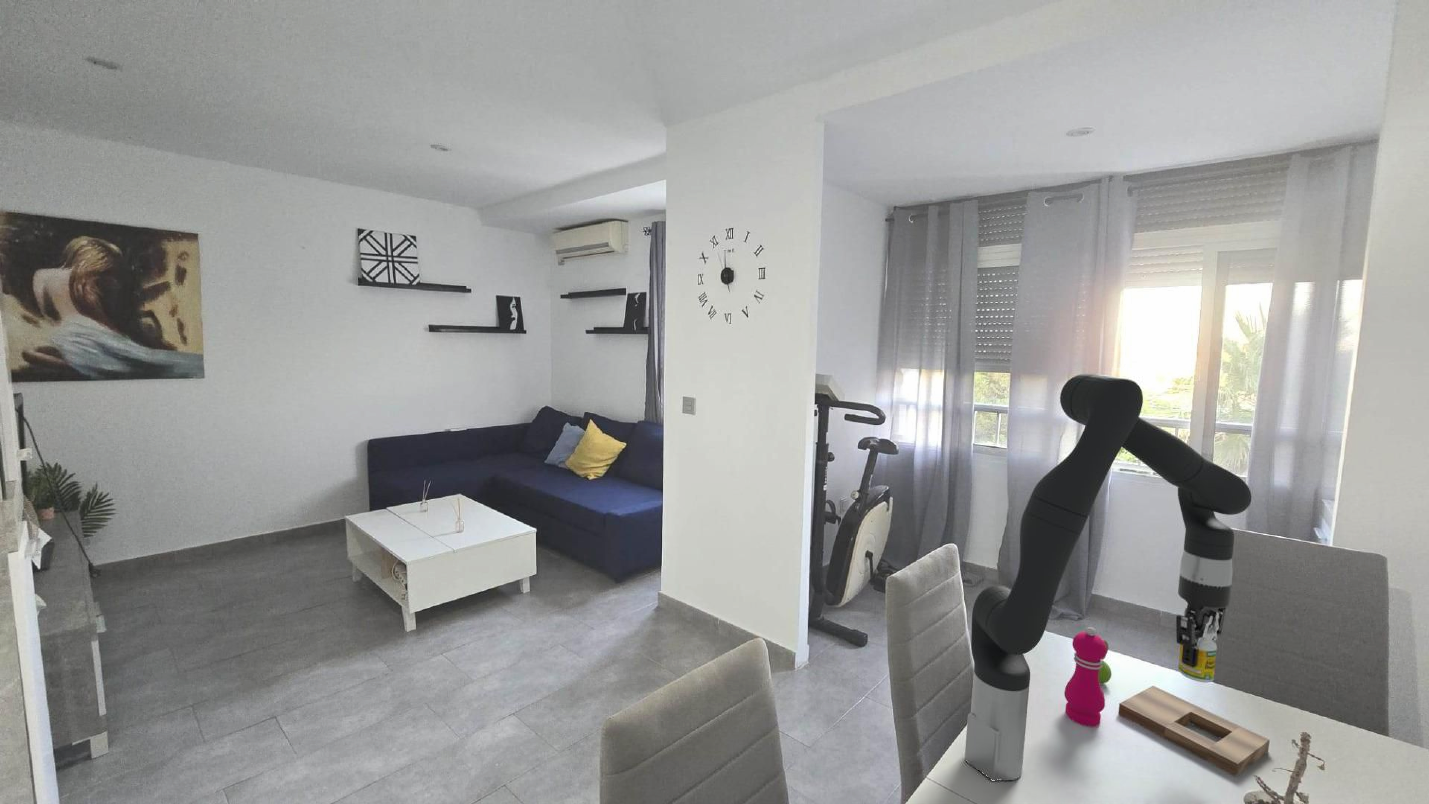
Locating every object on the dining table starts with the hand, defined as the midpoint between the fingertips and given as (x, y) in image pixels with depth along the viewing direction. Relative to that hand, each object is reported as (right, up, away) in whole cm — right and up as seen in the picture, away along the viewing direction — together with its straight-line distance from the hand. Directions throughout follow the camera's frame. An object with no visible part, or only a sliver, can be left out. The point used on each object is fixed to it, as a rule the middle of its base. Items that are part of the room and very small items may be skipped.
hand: (1197, 660), depth 112 cm
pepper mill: (-15, -17, +11) cm, 25 cm away
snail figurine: (-4, -16, +24) cm, 29 cm away
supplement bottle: (0, -3, 0) cm, 3 cm away
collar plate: (+4, -18, +7) cm, 19 cm away
